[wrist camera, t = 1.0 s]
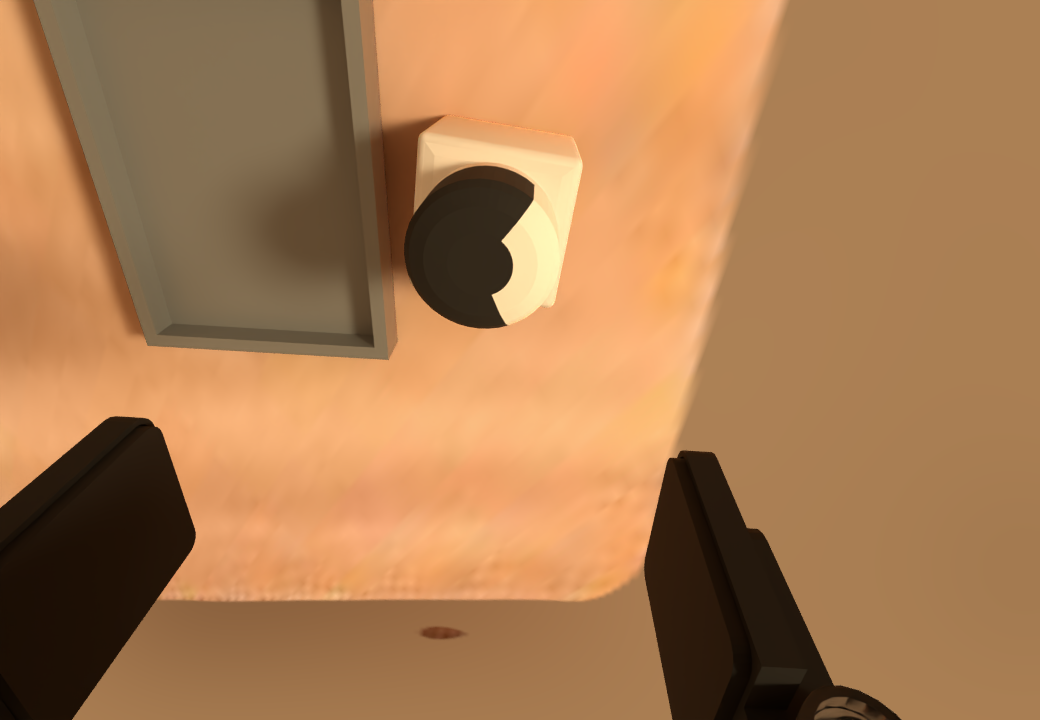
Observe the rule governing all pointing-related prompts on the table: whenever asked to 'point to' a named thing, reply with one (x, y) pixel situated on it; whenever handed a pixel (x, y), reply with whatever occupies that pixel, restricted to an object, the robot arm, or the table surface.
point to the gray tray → (237, 167)
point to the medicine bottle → (490, 219)
